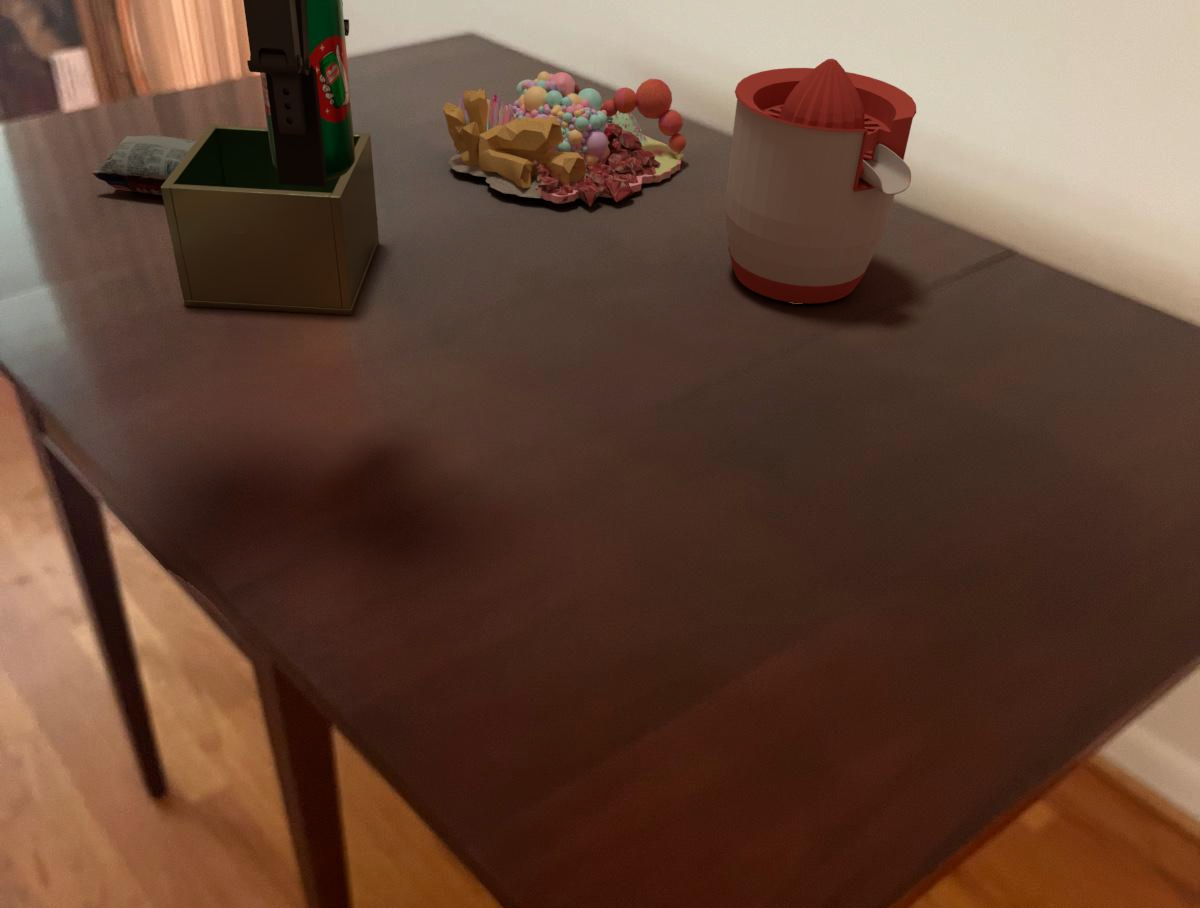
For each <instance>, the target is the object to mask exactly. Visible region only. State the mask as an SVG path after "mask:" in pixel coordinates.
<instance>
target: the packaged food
mask: <svg viewBox="0 0 1200 908" xmlns="http://www.w3.org/2000/svg"><path fill="white" fill-rule="evenodd" d="M196 141H197V140H192V139H188V138H183V137H177V136H176V137H175V136H166V135H165V136H164V135H157V134H146V135H138V136H137V135H134V136H133V135H127V136H125V138H124V139H122V141H121V142H120V143H119V144H118V146H117V147H116V148H115V149H114V150H113V152H111V154H110V155H109V156H108V158H107V159H105V161H104V162H103V163H102V164H101V165H99V166H97V168H96V169H95V170H94V171H93V172H92V173H91V174H92V175H94V177H96V179H98V180H100V181H102V182H105V183H106V184H107V185H109V186H111V187H112V188H114V189H115V190H118V191H125V192H132V193H133V192H135V193H142V194H152V195H155V196H162V192H161V186H162V185H163V183H164V182H165V181H166V180H167V178H168V177H169V176H170V174H171V173H172V172H173V171H174V169H175V168H176V167H177V165H178V164H179V163H180V162H181V160H182V159H183V158H184V156H185V155H186V154H187V153H188V151H189V150H190V149H191V147H192V146H193V145H194V144H195V142H196Z"/></svg>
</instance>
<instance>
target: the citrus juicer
mask: <svg viewBox="0 0 1200 908" xmlns="http://www.w3.org/2000/svg"><path fill="white" fill-rule="evenodd" d="M734 94H735V98H736V106H735V116H734V123H733V130H732V138H731V146H730V154H729V162H728V171H727V180H726V190H725V205H724V208H725V209H724V211H725V212H724V213H725V229H726V234H727V240H728V253H729V257H730V261H731V265H732V269H733V271H734V275H735V276H736V279H737V280H738V281H739V282H740V283H741V284H742V285H743V286H744V287H746V288H747V289H749V290H750V291H752V292H754V293H757V294H758V295H760V296H764V297H767V298H768V299H773V300H776V301H781V302H786V303H788V302H793V303H805V304H807V305H808V304H822V303H824V304H825V303H829V302H834V301H837V300H840V299H843V298H844V297H847V296H848V295H850V294H851V293H852V292H853V291H855V288H856V287H857V286H858V284H859V283H860V282H861V280H862V279H863V277H864V276H865V274H866V272H867V271H868V269H869V266H870V262H871V261H872V259H873V257H874V255H875V253H876V252H877V250H878V248H879V245H880V243H881V241H882V238H883V236H884V234H885V231H886V229H887V225H888V222H889V220H890V219H889V218H890V216H891V211H892V208H893V204H894V199H895V195H898V194H901V193H903V192H905V191H906V190H908V189H909V187H910V185H911V182H912V171H911V168H910V166H909V165H908V164H907V163H906V161H904V160H905V156H906V152H907V146H908V143H909V142H908V141H909V137H910V133H911V130H912V129H911V128H912V124H913V120H914V118H915V116H916V115H917V103H916V102H915V100H914V98H913V97H912V96H911V95H909V94H908V93H907V92H906V91H904V90H902V89H901V88H899V87H897V86H895V85H893V84H891V83H889V82H886V81H883V80H880V79H877V78H874V77H871V76H868V75H864V74H858V73H854V72H849V71H846V70H845V68H843V66H842V65H841V63H839V61H838V60H837V59H835V58H827V59H826V60H824V61H823V62H821V63H819V64H818V65H817V66H816V67H785V68H774V69H767V70H762V71H759V72H756V73H752V74H750V75H748V76H745V77H744V78H742V79H741V80H740V81H739V82H738V83H737V85H736V87H735V90H734Z"/></svg>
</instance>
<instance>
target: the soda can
mask: <svg viewBox="0 0 1200 908" xmlns="http://www.w3.org/2000/svg"><path fill="white" fill-rule="evenodd" d="M342 2H343V0H307V18H308V40H309V59H310V62H311V68H310V69H316V75H317V85H318V94H319V104H320V114H321V124H322V134H323V144H324V154H325V163H326V173H327V180H331V179H335V178H338V177H340V176H342V175H344V174H346V173H347V172H348V171H349V169H350V168H351V167H352V165H353V164H354V162H355V148H354V136H353V132H354V126H353V125H354V124H353V113H352V101H351V100H352V99H351V91H350V78H349V77H350V76H349V65H348V55H347V54H348V53H347V44H346V43H347V41H346V36H345V29H344V19H345V18H344V8H343V6H344V4H343V5H342ZM259 75H260V81H261V89H262V97H263V98H262V99H263V103H264V104H263V105H264V112H265V113H264V114H265V120H266V127H267V128H268V135H269V143H270V151H271V158H272V163H273V164H274V166H275V167H276V168H277V169H278V166H277V159H276V151H275V143H274V135H273V128H272V120H271V112H270V104H269V97H268V89H267V81H266V73H260V74H259Z"/></svg>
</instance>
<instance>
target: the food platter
mask: <svg viewBox="0 0 1200 908" xmlns="http://www.w3.org/2000/svg"><path fill="white" fill-rule="evenodd" d="M515 91H516V94H517V96H518V97H519V98H518V99H516V100H515V101H514V102H513V104H510V103H508V105H507V102H505V103H504V100H502V103H501V92H498V94H497V92H495V94H493V97H492V100H491V99H488V98H487V93H486V89H481V88H478V90H475V89H474V90H473V89H470V90H462V91H461V93H460V94H459V97H458V98H459V99H458V103H457V105H455V104H454V103H451V102H448V101H446V103H445V104H444V106H443V108H442V110H443V113H444V117H445V120H446V125H447V131H448V134H449V136H450V137H451V139H452V141H453V146H454V147H455V153H457V154H455V155H452V156H451V157H450V159H449V161H448V163H447V164H448V165H449V166H450V167H451V169H452V170H454V171H455V172H458V173H464V174H470V175H472V176H475V177H482V178H483V177H484V178H486V179H485V182H486V183H487V184H489V187H490V188H491V189H494V190H496V191H498V192H500V193H502V194H510V195H516V196H518V197H523V198H533V199H543V200H544V201H550V202H552V203H553V204H558V205H560V204H567V203H571V202H575V201H576V200H577V199H581V200H582V201H583V202H584V203H585V204H586V205H588V207H591V206H592V205H593V204H594V202H595V201H596V200H597V199H598V197H602V198H611V199H613V200H614V201H615V202H616V203H618V202H620V201H622V200H624V199H626V198H628V197H630V196H633V195H634V193H636V192H640V191H641V190H642V186H643V184H652V183H661V182H662V181H663V180H667V179H670V178H671V175H673V174H675V173H676V172H679V171H680V170H681V164H682V161H683V160H684V158H685V154H684V152H683V151H684V150H685V148H686V146H687V140H686V138H685V136H684V135H683V134H681V133H680V131H682V128H683V125H684V122H683V121H684V120H683V117H682V115H681V114H680V113H679V112H678V111H677V110H676V109H675V110H674V109H671V106H672V103H673V94H672V91H671V89H670V87H669V85H668V84H667V83H666V82H664V81H663V80H662V79H659V78H649V79H647V80H645V81H643V82H642V83H640V85H639V86H638V87H637V89H636V92H635V91H634V90H633V89H632V88H630V87H627V86H626V87H621V88H619V89H617V90H616V92H615V93H614V95H613V99H611V98H610V99H607V100H605V101H604V102H603V98H602V96H601V93H600V92H599V91H598V90H596V89H595V88H592V87H586V88H583V89H582V88H581V87H580V86H579V85H578V84H576V83H575V80H574V78H573V76H571V74H569V73H567V72H564V71H559V72H556V73H549V72H548V71H541V72H539V73H538V75H537V77H536V78H535V79H533V80H532V79H524V80H521V81H520V82H519V83H518V84H517V85H516V87H515ZM635 108H637V111H638V112H639V114H641V115H642V116H643V117H644V118H646V119H648V120H649V119H650V120H657V125H658V126H657V127H658V129H659V131H660V133H662V134H663V135H664V136H667V137H670V138H669V139H668V140H669V141H668V144H666V143H664V142H661V141H660V140H657V139H653V138H651V137H649V136H647V135H645V134H643V132H642V128H641V126H640V125H639V122H638V121H637V120H636V116H634V115H633V114H632V113H631V112H633V111H634V110H635ZM549 114H550V115H549ZM678 170H679V171H678Z"/></svg>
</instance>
